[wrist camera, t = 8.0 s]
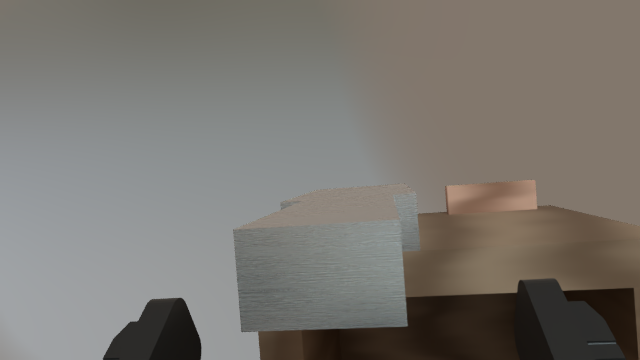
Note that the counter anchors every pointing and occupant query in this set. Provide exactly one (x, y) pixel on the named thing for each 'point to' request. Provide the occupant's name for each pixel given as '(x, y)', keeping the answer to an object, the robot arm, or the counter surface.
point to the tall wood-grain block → (489, 280)
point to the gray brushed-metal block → (328, 260)
